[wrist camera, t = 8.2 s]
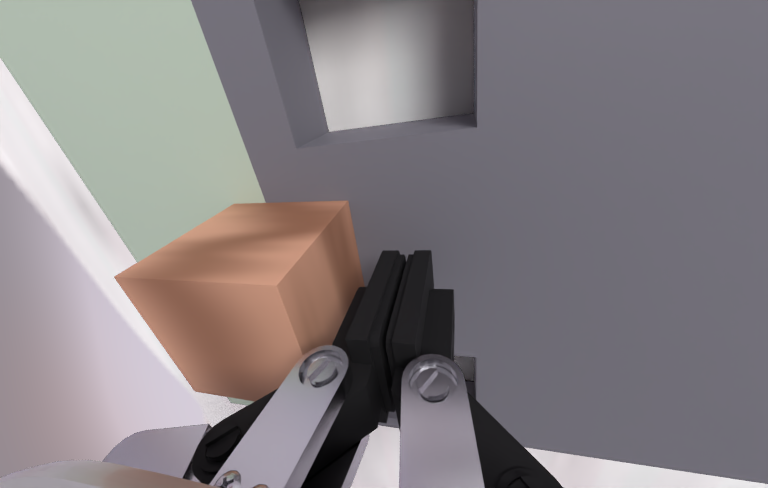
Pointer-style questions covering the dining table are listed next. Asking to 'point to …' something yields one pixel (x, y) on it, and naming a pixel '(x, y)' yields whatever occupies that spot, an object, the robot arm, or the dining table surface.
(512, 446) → the robot arm
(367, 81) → the dining table surface
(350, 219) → the terracotta block
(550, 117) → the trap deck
